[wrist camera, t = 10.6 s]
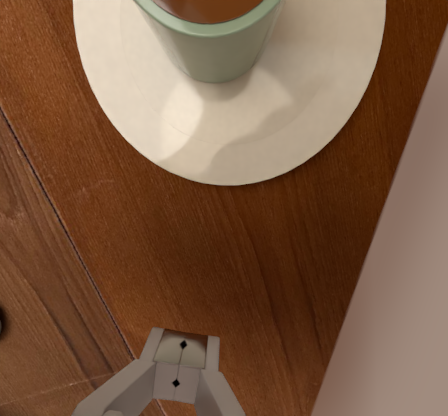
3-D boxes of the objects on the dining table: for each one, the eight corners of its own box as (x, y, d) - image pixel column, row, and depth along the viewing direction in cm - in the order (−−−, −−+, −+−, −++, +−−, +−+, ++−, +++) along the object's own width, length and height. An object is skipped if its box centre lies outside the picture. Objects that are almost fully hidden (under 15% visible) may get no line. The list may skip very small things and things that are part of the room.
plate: (404, -87, 13) (442, -137, 11) (315, 199, 18) (329, 207, 16) (102, -167, 13) (74, -239, 10) (90, 156, 17) (69, 158, 15)
